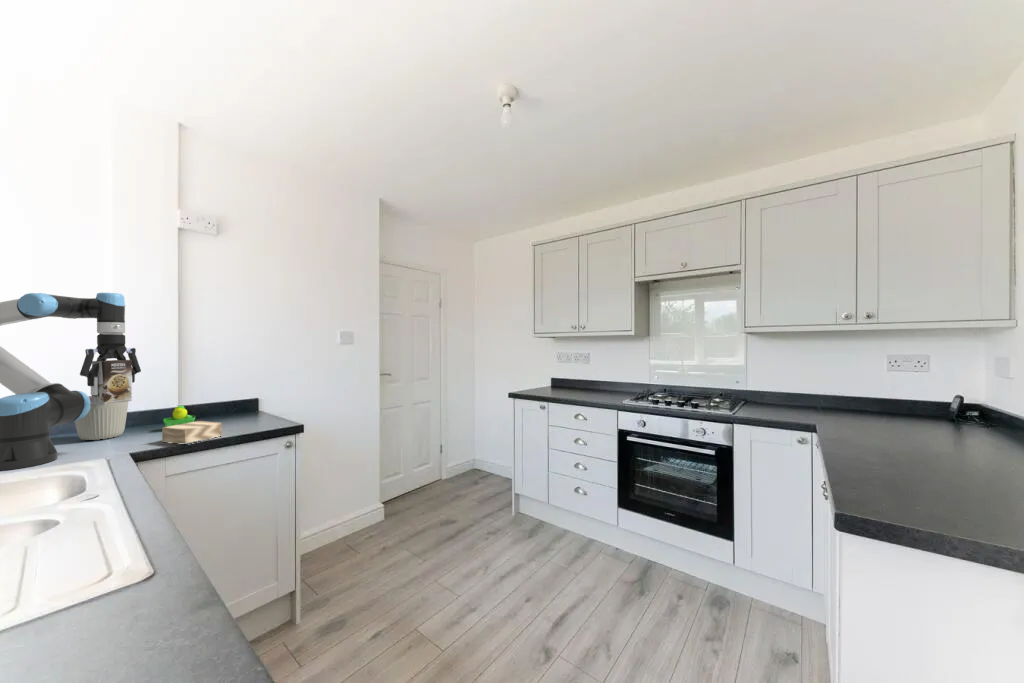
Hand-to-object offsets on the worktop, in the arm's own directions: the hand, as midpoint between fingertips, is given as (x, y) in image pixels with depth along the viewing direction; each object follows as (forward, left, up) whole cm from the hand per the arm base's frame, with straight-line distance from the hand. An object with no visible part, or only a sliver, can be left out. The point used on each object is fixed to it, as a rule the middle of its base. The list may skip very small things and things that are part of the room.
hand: (112, 393), depth 150 cm
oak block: (+20, -12, -22) cm, 32 cm away
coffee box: (0, 0, -4) cm, 4 cm away
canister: (+10, +30, -22) cm, 38 cm away
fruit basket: (+32, +17, -22) cm, 42 cm away
